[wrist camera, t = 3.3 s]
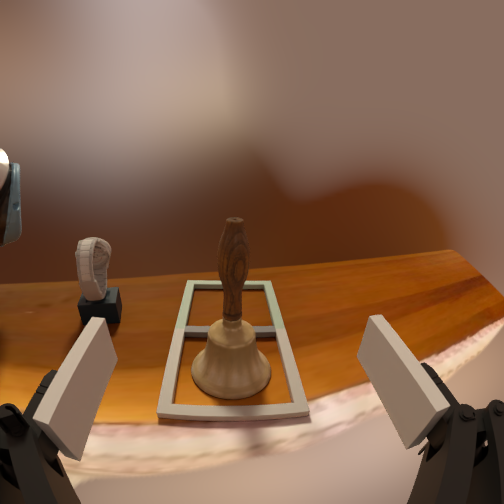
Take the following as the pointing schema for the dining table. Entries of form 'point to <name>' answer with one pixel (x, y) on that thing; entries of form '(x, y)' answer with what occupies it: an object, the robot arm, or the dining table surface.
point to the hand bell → (232, 329)
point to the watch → (96, 282)
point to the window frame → (182, 330)
